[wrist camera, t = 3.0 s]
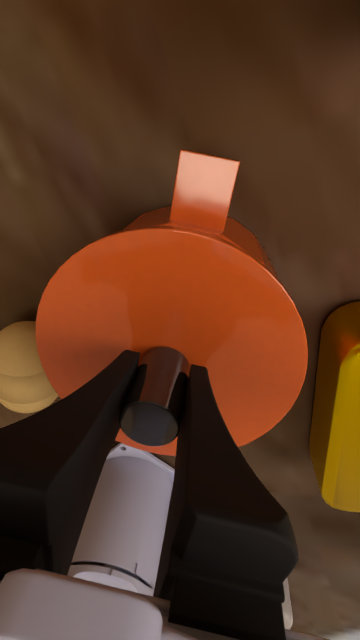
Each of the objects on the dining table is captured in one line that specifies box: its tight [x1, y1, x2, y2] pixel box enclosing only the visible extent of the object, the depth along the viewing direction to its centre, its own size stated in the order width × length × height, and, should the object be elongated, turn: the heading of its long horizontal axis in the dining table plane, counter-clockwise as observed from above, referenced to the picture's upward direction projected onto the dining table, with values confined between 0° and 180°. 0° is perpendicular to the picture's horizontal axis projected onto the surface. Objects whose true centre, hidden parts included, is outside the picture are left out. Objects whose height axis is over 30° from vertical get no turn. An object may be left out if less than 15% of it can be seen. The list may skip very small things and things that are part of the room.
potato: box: [0, 321, 58, 413], centre depth 22 cm, size 7×5×5 cm, turn 170°
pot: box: [121, 149, 277, 277], centre depth 18 cm, size 11×17×5 cm
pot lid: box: [35, 226, 308, 456], centre depth 13 cm, size 12×12×4 cm
